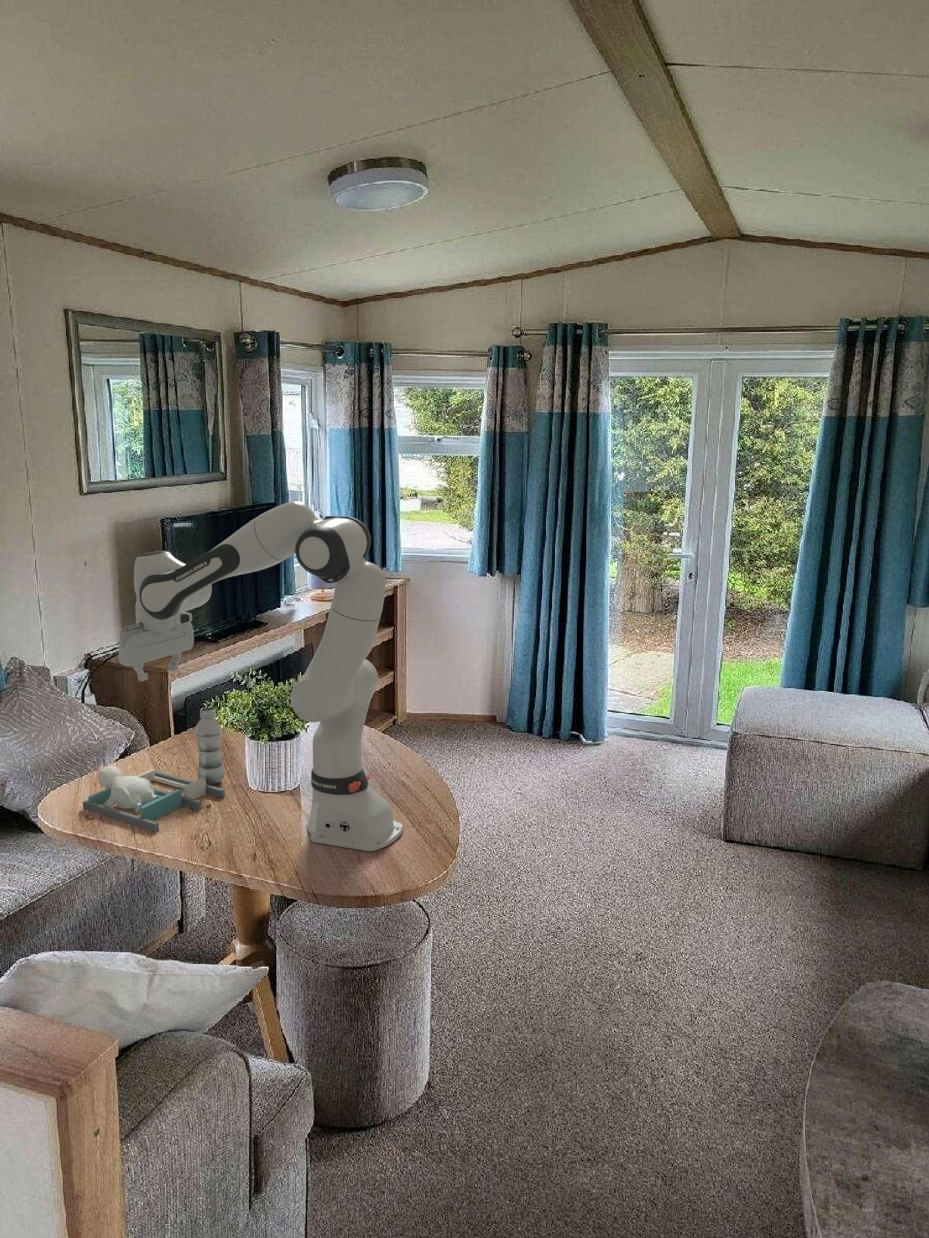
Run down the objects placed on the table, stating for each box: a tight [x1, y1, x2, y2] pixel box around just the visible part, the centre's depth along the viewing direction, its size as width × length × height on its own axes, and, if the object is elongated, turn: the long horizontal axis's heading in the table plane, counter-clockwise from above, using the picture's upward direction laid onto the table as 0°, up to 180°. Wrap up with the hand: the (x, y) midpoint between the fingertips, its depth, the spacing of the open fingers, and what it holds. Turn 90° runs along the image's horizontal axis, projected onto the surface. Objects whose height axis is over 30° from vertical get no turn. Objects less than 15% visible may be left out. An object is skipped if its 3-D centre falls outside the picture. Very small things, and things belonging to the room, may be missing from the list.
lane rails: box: [82, 770, 226, 833], centre depth 213 cm, size 24×22×2 cm
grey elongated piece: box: [134, 768, 207, 800], centre depth 219 cm, size 19×6×4 cm, turn 62°
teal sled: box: [87, 788, 183, 821], centre depth 210 cm, size 19×12×4 cm, turn 62°
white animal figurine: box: [97, 765, 157, 815], centre depth 211 cm, size 9×8×15 cm
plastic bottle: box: [194, 706, 225, 786], centre depth 223 cm, size 6×7×20 cm
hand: (158, 675), depth 207 cm, fingers open, 8 cm apart
